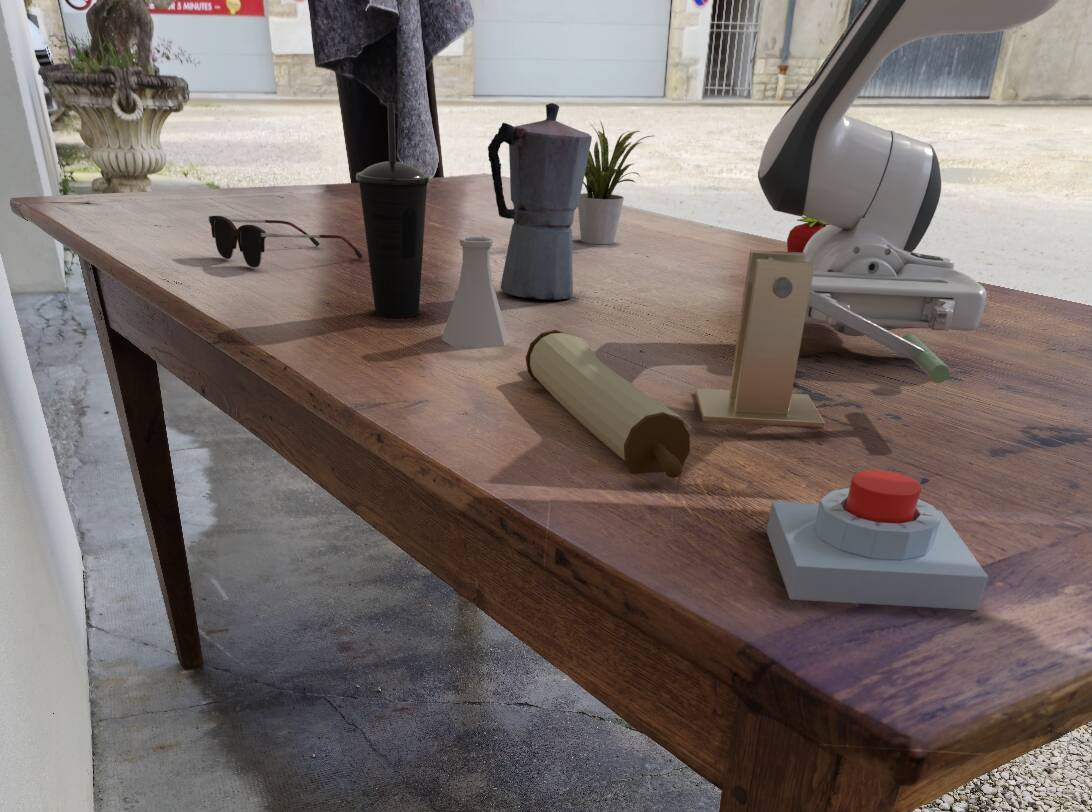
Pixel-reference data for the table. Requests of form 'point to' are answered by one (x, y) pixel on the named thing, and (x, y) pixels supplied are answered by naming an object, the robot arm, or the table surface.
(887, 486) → the button
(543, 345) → the rolling pin
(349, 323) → the table surface
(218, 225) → the sunglasses
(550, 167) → the moka pot
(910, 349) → the lever
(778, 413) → the bracket
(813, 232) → the strawberry
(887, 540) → the control block
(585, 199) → the house plant
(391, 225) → the drinking cup
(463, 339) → the flask
